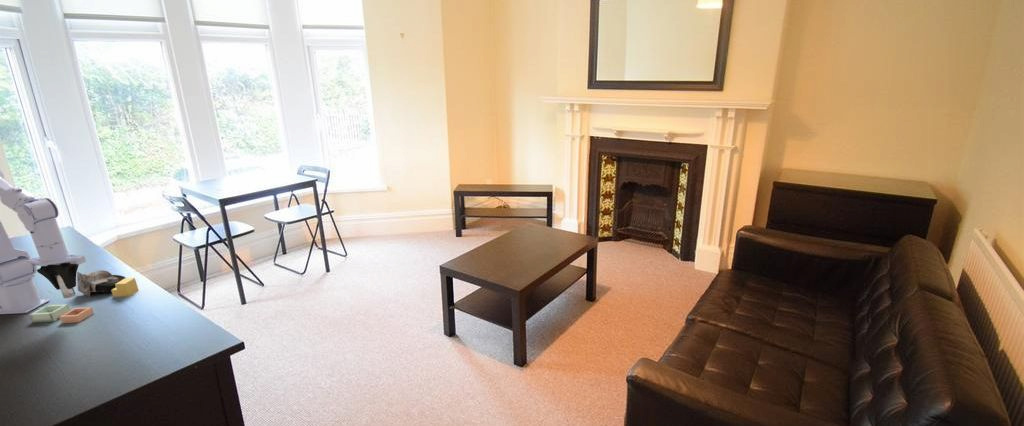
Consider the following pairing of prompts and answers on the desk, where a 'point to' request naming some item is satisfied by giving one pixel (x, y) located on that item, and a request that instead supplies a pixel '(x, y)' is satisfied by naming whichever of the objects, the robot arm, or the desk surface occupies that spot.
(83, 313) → the socket block
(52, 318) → the tray
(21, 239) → the desk surface
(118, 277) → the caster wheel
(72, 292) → the stop pin
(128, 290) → the chock
